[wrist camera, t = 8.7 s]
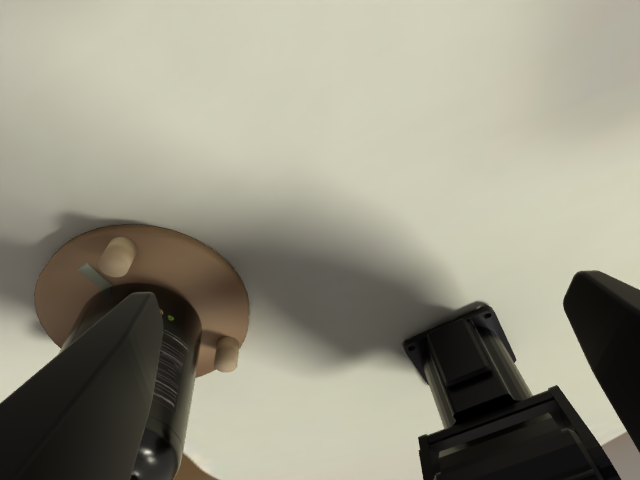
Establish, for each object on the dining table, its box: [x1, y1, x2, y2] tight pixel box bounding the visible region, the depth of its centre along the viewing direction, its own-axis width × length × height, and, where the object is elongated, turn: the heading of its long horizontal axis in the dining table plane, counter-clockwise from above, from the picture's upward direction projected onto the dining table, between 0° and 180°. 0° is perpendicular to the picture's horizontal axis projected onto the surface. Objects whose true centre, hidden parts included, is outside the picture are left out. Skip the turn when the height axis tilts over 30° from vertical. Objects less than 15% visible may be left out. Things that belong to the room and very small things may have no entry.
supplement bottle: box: [58, 283, 202, 480], centre depth 20 cm, size 7×7×12 cm
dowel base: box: [34, 225, 249, 378], centre depth 25 cm, size 12×12×3 cm
